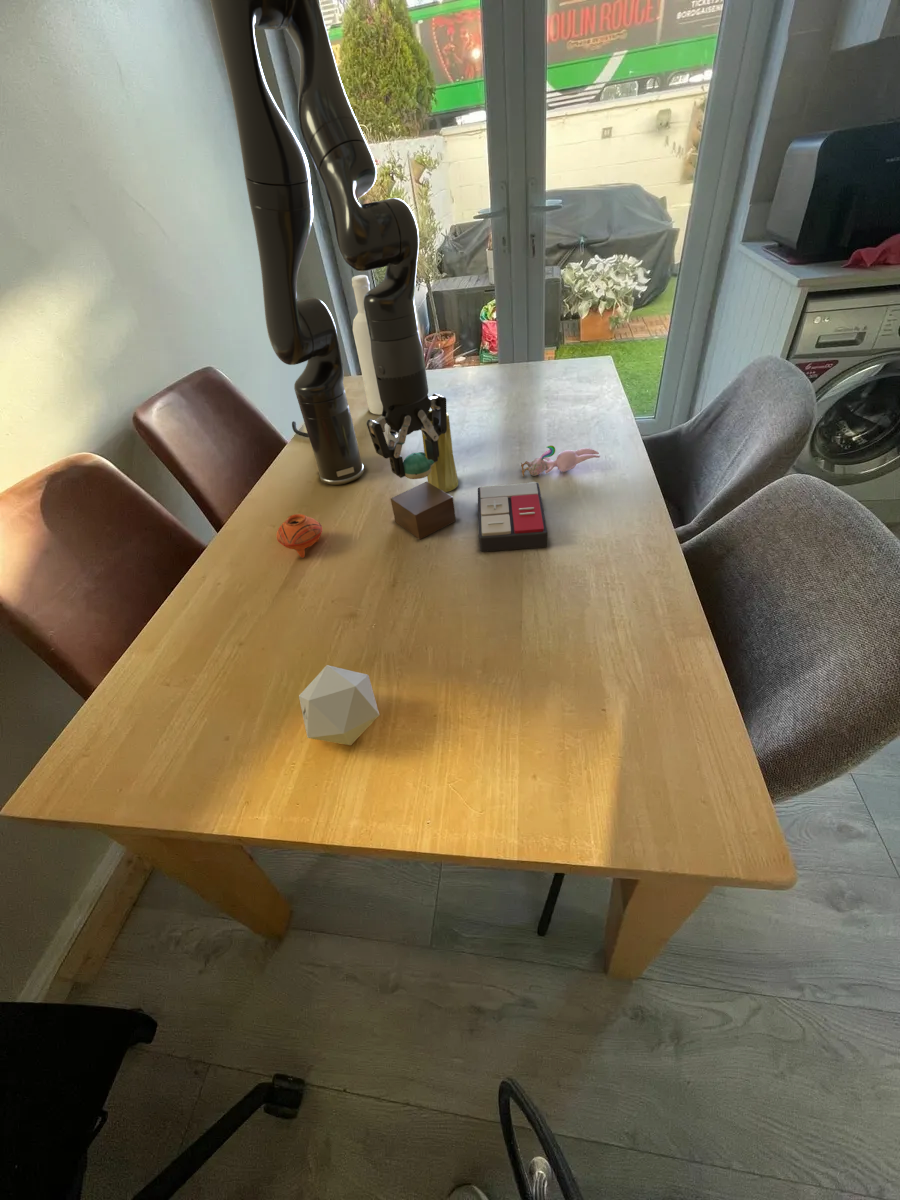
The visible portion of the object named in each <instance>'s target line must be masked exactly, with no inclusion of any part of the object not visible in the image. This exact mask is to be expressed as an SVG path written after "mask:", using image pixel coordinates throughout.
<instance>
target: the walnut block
mask: <svg viewBox="0 0 900 1200" xmlns="http://www.w3.org/2000/svg"><path fill="white" fill-rule="evenodd" d="M390 502H391V508H392V513H393V517H394V522H395V523H396V524H397V525H398V526H400V527H402V528H403V529H405V530H406V531H407V532H409V533H410V534H411V535H413V536H414V537H416V538H417V539H418V540H422V539H424V538H426V537H428V536H430V535H432V534H433V533H435V532H438V531H440V530H441V529H443V528H445V527H447V526H448V525H451V524H453V523H455V522H456V519H457V517H456V512H455V511H456V509H455V503H454V496H452V495H451V494H449V493H448V492H444V491H442V490H440V489H439V488H437V487H435V486H434V485H432V484H430V483H428V481H425V482H423V483H420V484H418V485H416V486H414V487H412V488H410V489H407V490H406V491H403V492H401V493H399V494H397V495H394V496H393V497H391V498H390Z"/></svg>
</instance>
